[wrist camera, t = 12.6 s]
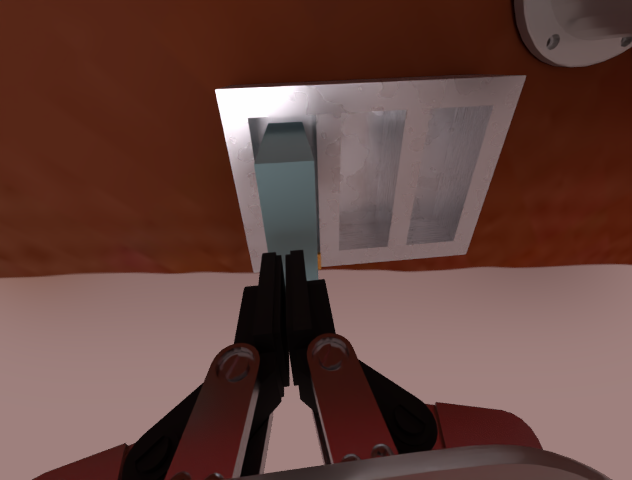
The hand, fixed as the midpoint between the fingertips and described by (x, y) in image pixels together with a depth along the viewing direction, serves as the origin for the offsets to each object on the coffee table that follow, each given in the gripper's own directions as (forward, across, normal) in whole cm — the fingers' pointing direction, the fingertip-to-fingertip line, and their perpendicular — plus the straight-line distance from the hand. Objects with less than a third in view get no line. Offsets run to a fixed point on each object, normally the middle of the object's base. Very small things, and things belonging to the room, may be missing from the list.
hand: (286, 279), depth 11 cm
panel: (+12, 0, 0) cm, 13 cm away
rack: (+13, -6, 0) cm, 15 cm away
